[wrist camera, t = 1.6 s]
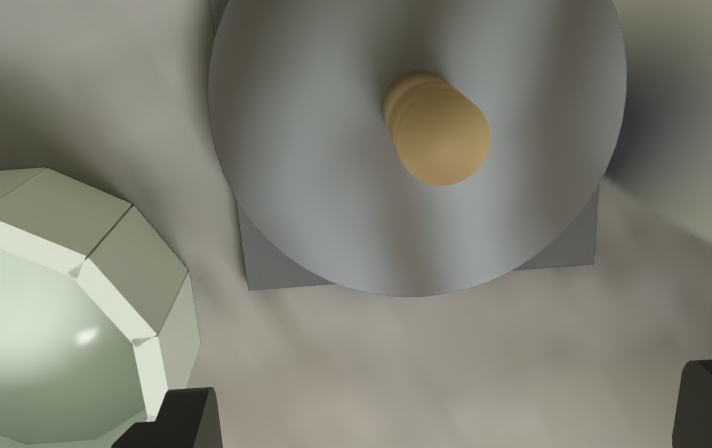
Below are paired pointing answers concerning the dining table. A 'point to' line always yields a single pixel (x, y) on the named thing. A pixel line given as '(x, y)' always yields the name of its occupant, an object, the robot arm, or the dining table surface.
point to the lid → (415, 131)
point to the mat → (282, 272)
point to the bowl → (85, 314)
